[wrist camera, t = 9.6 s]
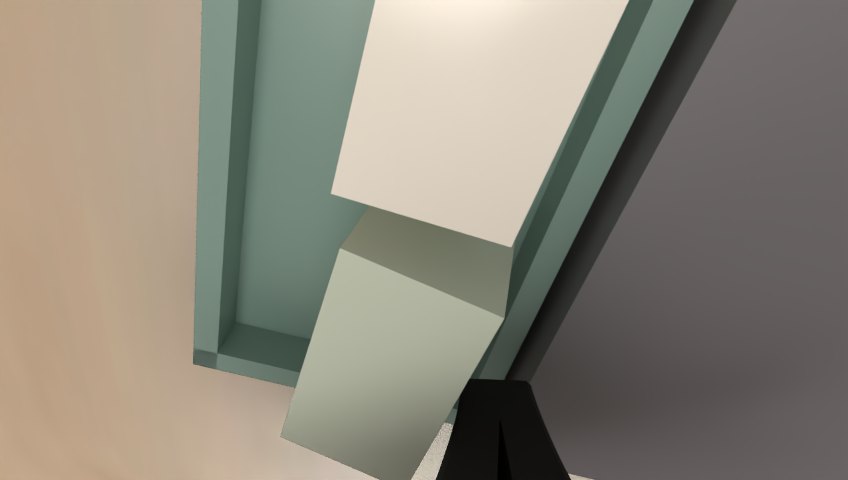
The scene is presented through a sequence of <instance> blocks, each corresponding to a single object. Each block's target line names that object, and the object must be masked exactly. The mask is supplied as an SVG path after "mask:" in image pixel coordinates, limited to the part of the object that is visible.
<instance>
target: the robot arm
mask: <svg viewBox="0 0 848 480" xmlns="http://www.w3.org/2000/svg"><path fill="white" fill-rule="evenodd" d="M436 480H571V479H570V477H569V475H568V473H567V471H566V469H565V467H564V465H563V463H562V461H561V459H560V457H559V455H558V453H557V450H556V448H555V446H554V444H553V442H552V439H551V437H550V435H549V433H548V430H547V428H546V426H545V423H544V421H543V418H542V416H541V413H540V411H539V408H538V405H537V402H536V399H535V397H534V394H533V390H532V387H531V385H530V384H529V383H528V382H527V381H522V380H496V379H470V378H469V380H468V382H467V384H466V385H465V387H464V389H463V391H462V392H461V394H460V398H459V404H458V409H457V414H456V418H455V422H454V425H453V429H452V433H451V436H450V440H449V443H448V446H447V449H446V452H445V455H444V458H443V461H442V464H441V466H440V469H439V472H438V475H437V478H436Z"/></svg>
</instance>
